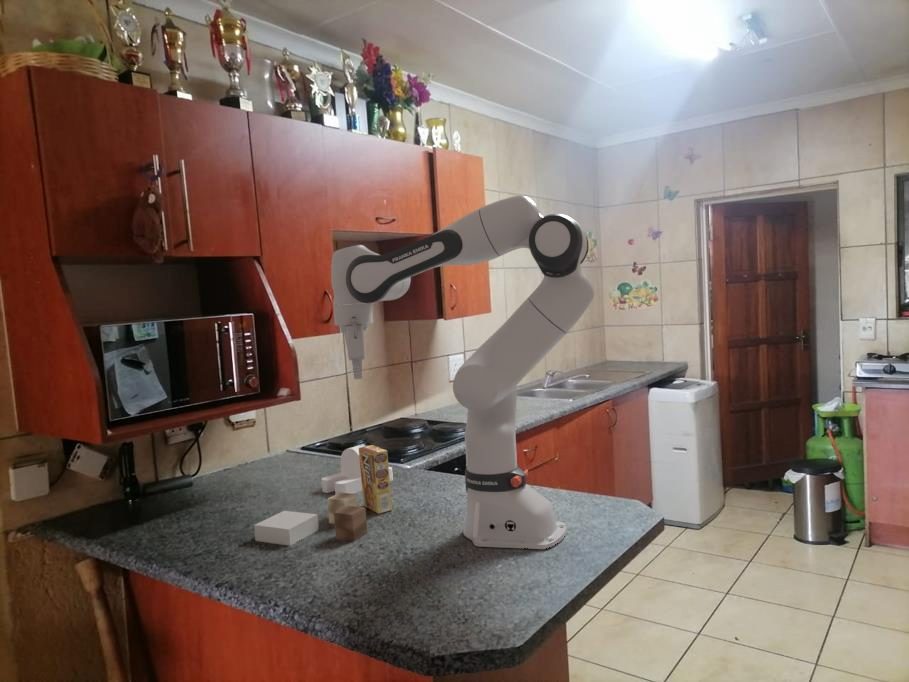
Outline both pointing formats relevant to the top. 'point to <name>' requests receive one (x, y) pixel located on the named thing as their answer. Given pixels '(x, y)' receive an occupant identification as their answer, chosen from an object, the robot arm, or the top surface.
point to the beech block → (340, 503)
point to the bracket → (347, 474)
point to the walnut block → (350, 523)
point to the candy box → (375, 478)
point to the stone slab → (286, 527)
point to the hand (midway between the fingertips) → (357, 376)
